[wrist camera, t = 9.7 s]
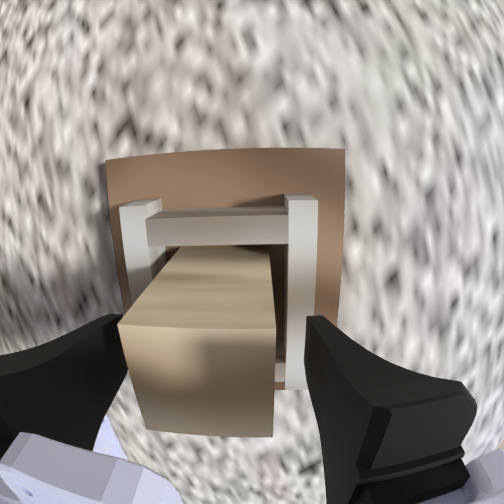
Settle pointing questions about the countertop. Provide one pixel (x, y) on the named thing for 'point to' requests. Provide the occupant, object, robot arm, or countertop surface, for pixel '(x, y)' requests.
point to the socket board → (238, 226)
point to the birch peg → (205, 343)
